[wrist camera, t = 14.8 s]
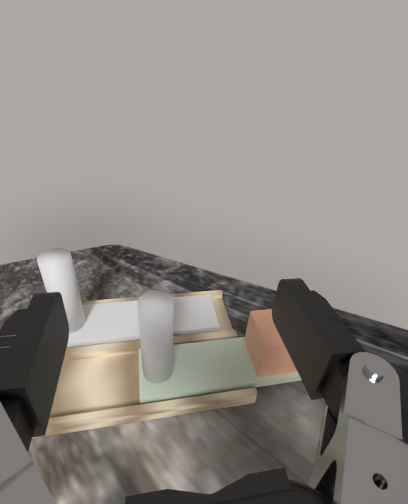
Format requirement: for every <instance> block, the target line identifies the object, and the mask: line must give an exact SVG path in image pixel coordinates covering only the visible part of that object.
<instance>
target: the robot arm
mask: <svg viewBox="0 0 408 504" xmlns="http://www.w3.org/2000/svg"><path fill="white" fill-rule="evenodd" d="M272 319H273V322H274V325H275V327H276V329H277V331H278V333H279V335H280V337H281V339H282V341H283V343H284V345H285V347H286V349H287V351H288V353H289V355H290V357H291V359H292V361H293V363H294V366H295V368H296V370H297V372H298V374H299V376H300V378H301V380H302V382H303V384H304V386H305V388H306V390H307V392H308V394H309V396H310V398H311V400H314V399H321V398H324V400H325V402H326V404H327V405H326V407H325V410H324V416H323V422H322V427H321V433H320V439H319V444H318V450H317V456H316V461H315V465H314V468H313V471H312V474H311V477H310V480H309V484H308V486H307V485H305V484H303V483H300V482H296V481H293V480H289V479H288V476H287V473H286V470H285V468H281V469H275V470H270V471H264V472H259V473H253V474H248V475H246V476H245V477H243V478H241V479H239V480H237V481H235V482H234V483H232V484H230V485H228V486H226V487H225V488H223V489H221V490H219V491H217V492H215V493H213V494H201V493H193V492H186V491H178V490H171V489H165V490H160V491H154V492H149V493H143V494H138V495H132V496H127V497H125V504H408V372H402V371H397V370H395V369H394V368H393V367H392V366H391V365H390V364H389V363H388V362H387V361H385V360H384V359H382V358H381V357H379V356H377V355H374V354H371V353H367V352H365V351H364V349H363V348H362V347H361V345H360V344H359V343H358V341H357V340H356V339H355V337H354V336H353V335H352V333H351V332H350V331H349V329H348V328H347V327H346V325H345V324H344V323H343V321H342V320H340V317H339V316H338V315H337V313H336V312H335V311H333V308H332V307H331V305H330V304H329V303H328V301H327V300H326V299H325V298H324V297H322V296H321V295H320V294H318V293H317V292H315V291H310V290H309V288H308V287H307V286H306V284H305V283H304V281H303V280H302V279H300V278H298V279H282V280H281V281H280V282H279V284H278V288H277V292H276V295H275V299H274V303H273V307H272ZM68 339H69V324H68V319H67V315H66V311H65V307H64V303H63V299H62V295H61V293H60V292H48V293H35V294H34V295H33V297H32V300H31V302H30V304H29V306H28V309H22V310H17V311H16V312H15V313H14V314H13V315H11V316H10V317H9V318H8V319H7V320H6V321H5V322H4V324H3V326H2V328H1V330H0V504H56V502H55V501H54V499H53V497H52V495H51V493H50V491H49V490H48V488H47V486H46V484H45V482H44V480H43V479H42V477H41V475H40V473H39V471H38V470H37V468H36V466H35V464H34V462H33V461H32V459H31V457H30V456H29V454H28V450H29V446H30V443H31V439H32V437H39V436H45V434H46V430H47V426H48V421H49V417H50V413H51V409H52V405H53V401H54V397H55V393H56V389H57V385H58V381H59V377H60V373H61V368H62V364H63V360H64V356H65V352H66V348H67V344H68Z"/></svg>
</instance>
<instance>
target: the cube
mask: <svg viewBox="0 0 408 504" xmlns="http://www.w3.org/2000/svg"><path fill="white" fill-rule="evenodd" d="M244 341H245V344H246V347H247V350H248V352H249V355H250V358H251V360H252V363H253V366H254V369H255V371H256V374H257V377H265V376H272V375H279V374H286V373H293V372H297V370H296V368H295V366H294V363H293V361H292V359H291V357H290V355H289V353H288V351H287V349H286V347H285V345H284V343H283V341H282V339H281V337H280V335H279V333H278V331H277V329H276V327H275V325H274V322H273V319H272V309H266V310H255V311H250V315H249V320H248V324H247V329H246V334H245V338H244Z"/></svg>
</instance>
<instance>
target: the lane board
mask: <svg viewBox="0 0 408 504" xmlns="http://www.w3.org/2000/svg"><path fill="white" fill-rule="evenodd" d="M206 294H210V296H211V299H212V303H213V306H214V309H215V313H216V316H217V319H218V323H219V326H220V328H219V331H218V332H209V333H200V334H191V335H181V336H173V345H178V344H186V343H195V342H204V341H213V340H221V339H230V338H238V335H237V332H236V330H233V328H232V325H231V322H230V320H229V317H228V314H227V311H226V308H225V305H224V302H223V299H222V294H223V292H222V290H215V291H203V292H191V293H179V294H170V295H171V296H172V297H183V296H195V295H206ZM139 298H140V297H130V298H118V299H106V300H93V301H81V302H82V305H88V304H100V303H111V302H123V301H135V300H138V299H139ZM139 349H141V343H140V340H136V341H126V342H117V343H108V344H99V345H90V346H80V347H71V348H66V352H65V356H64V360H63V364H62V368H61V373H60V377H59V381H58V385H57V389H56V393H55V397H54V401H53V405H52V409H51V413H50V417H49V421H48V426H47V430H46V434H45V436H51V435H57V434H64V433H70V432H76V431H82V430H89V429H95V428H101V427H108V426H114V425H120V424H126V423H133V422H139V421H145V420H151V419H158V418H164V417H170V416H177V415H183V414H189V413H195V412H202V411H208V410H214V409H221V408H227V407H233V406H239V405H246V404H252V403H255V401H256V397H257V394H258V392H257V389H256V387H255V388H248V389H241V390H234V391H228V392H221V393H214V394H208V395H201V396H194V397H187V398H181V399H174V400H167V401H161V402H154V403H147V404H140V395H139ZM45 436H39V437H45ZM32 438H38V437H32Z"/></svg>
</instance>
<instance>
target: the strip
mask: <svg viewBox="0 0 408 504" xmlns="http://www.w3.org/2000/svg"><path fill="white" fill-rule="evenodd" d="M37 262H38V265H39V268H40V272H41V275H42V278H43V281H44V285H45V288H46V291H47V293H48V292H60V293H61V295H62V299H63V303H64V307H65V311H66V315H67V319H68V324H69V339H68V344H67V348H71V347H80V346H90V345H99V344H108V343H117V342H126V341H136V340H140V331H139V320H138V308H137V302H138V300H135V301H123V302H111V303H100V304H88V305H82V302H81V297H80V293H79V288H78V284H77V280H76V275H75V271H74V266H73V262H72V258H71V253H70V252H69V251H68V250H66V249H63V248H54V249H50V250H47V251H44V252H43V253H41V254H40V255H39V256H38V258H37ZM172 298H173V301H174V311H173V336H181V335H191V334H200V333H209V332H218V331H219V328H220V326H219V323H218V319H217V316H216V313H215V309H214V306H213V303H212V299H211V296H210V294H206V295H195V296H183V297H172Z"/></svg>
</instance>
